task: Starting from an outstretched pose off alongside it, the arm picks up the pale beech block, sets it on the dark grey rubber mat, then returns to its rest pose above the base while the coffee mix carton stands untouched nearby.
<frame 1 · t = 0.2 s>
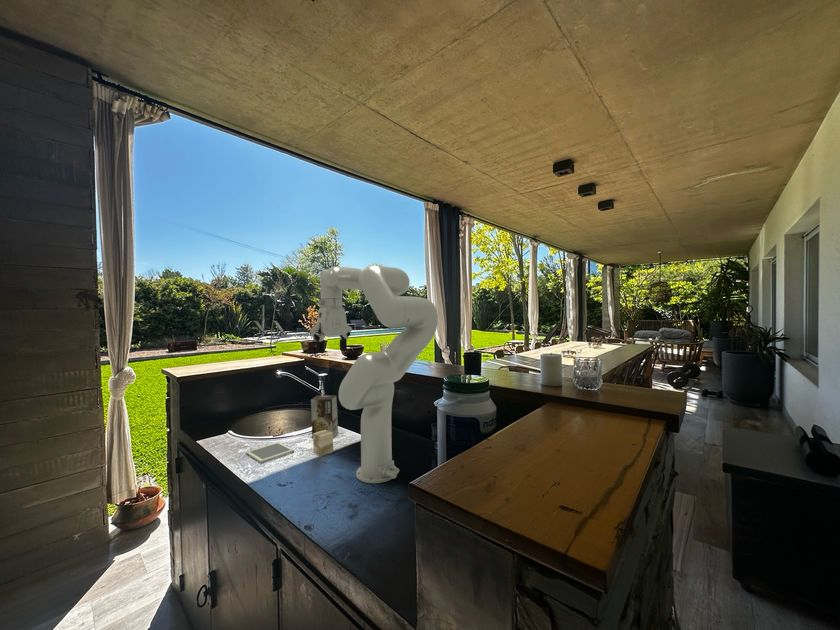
hand: (332, 351, 123), 37 cm above the countertop, tool pointing down, fingers open, 9 cm apart
mat: (270, 453, 124), on the countertop
block: (323, 452, 125), on the countertop
coffee box: (325, 436, 141), on the countertop
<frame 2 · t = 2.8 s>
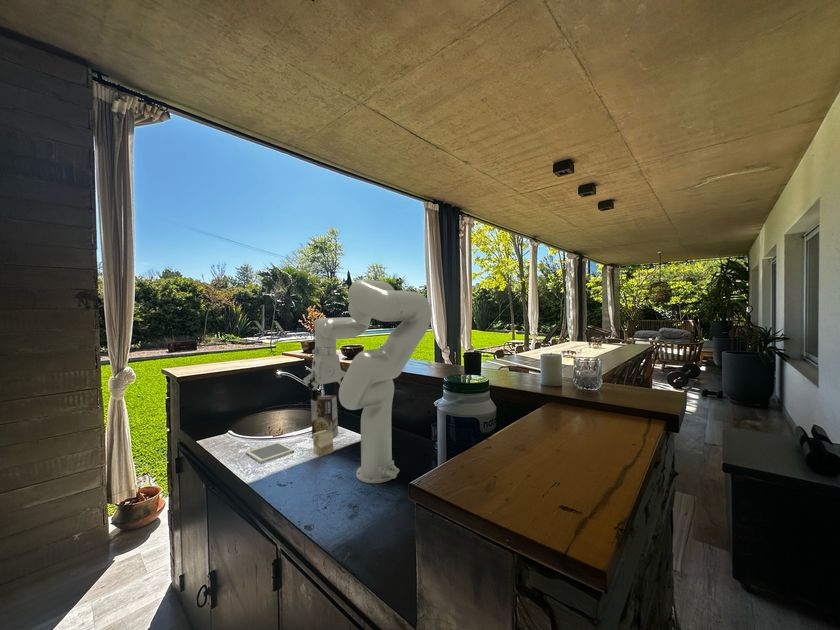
hand: (326, 397, 126), 19 cm above the countertop, tool pointing down, fingers open, 9 cm apart
nothing on the countertop moved.
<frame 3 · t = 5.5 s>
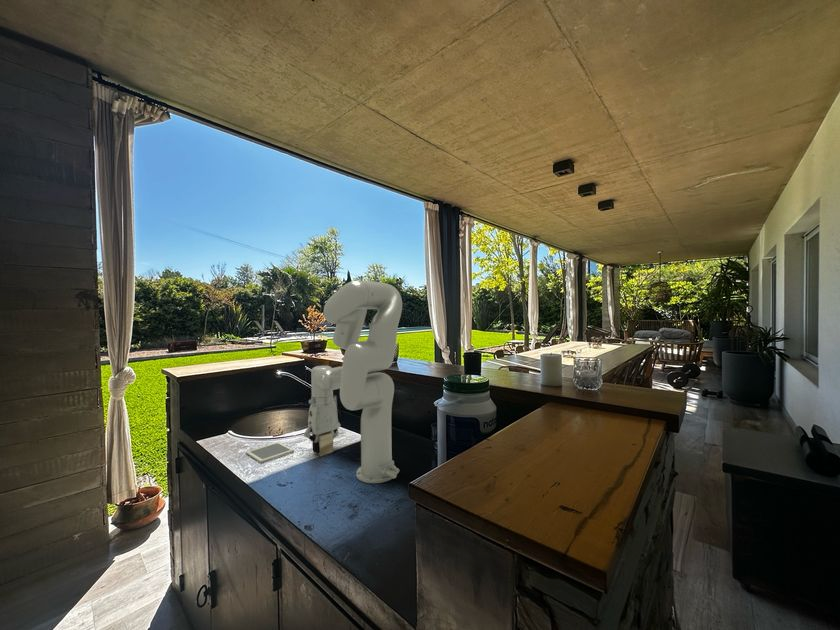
hand: (323, 449, 125), 1 cm above the countertop, tool pointing down, fingers closed on block, 5 cm apart
block: (323, 452, 125), on the countertop, touching gripper
everything else where it was.
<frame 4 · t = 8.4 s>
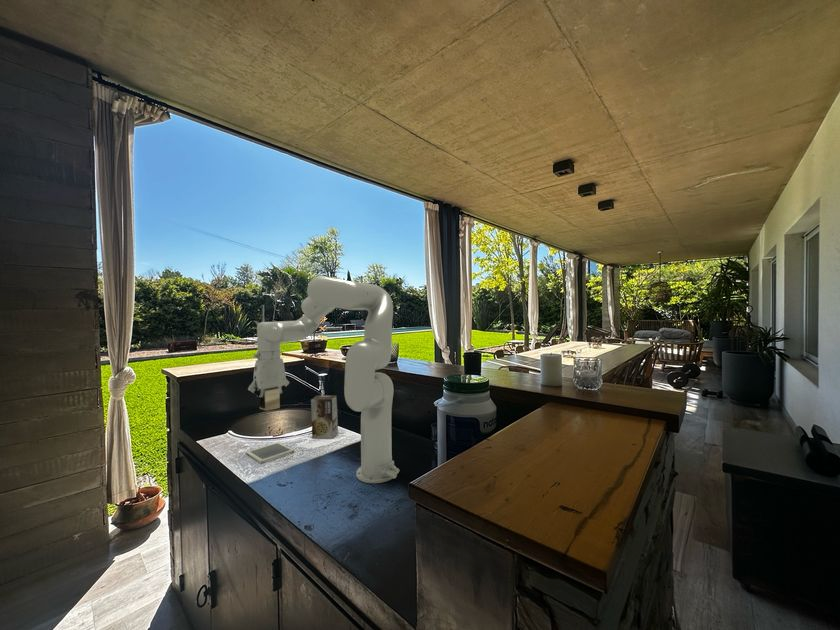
hand: (269, 405, 124), 17 cm above the countertop, tool pointing down, fingers closed on block, 5 cm apart
block: (269, 408, 124), point 16 cm above the countertop, touching gripper
everything else where it was.
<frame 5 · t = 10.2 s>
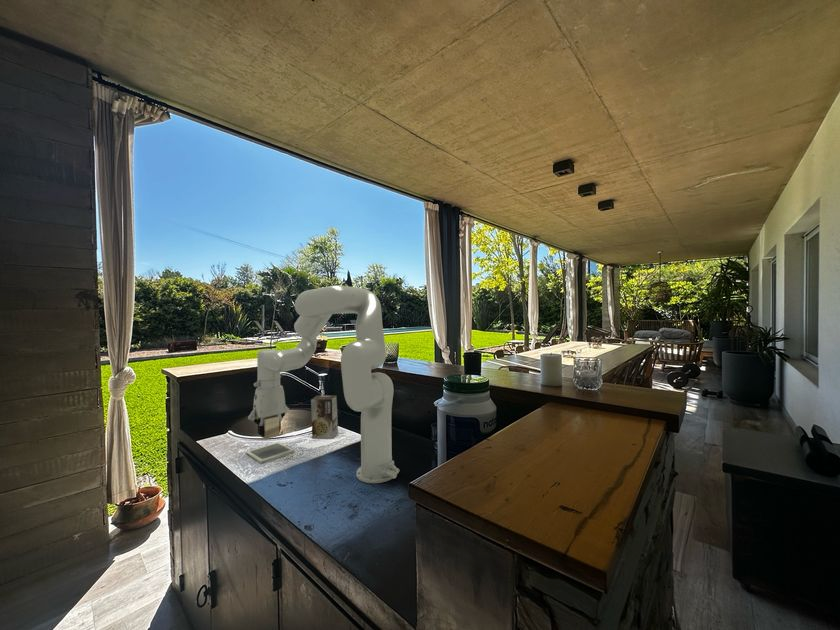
hand: (269, 433, 124), 7 cm above the countertop, tool pointing down, fingers closed on block, 5 cm apart
block: (269, 435, 124), point 6 cm above the countertop, touching gripper
everything else where it was.
when the fingers open (3 cm above the countertop, at t = 11.5 s): block drops 2 cm, resting on mat.
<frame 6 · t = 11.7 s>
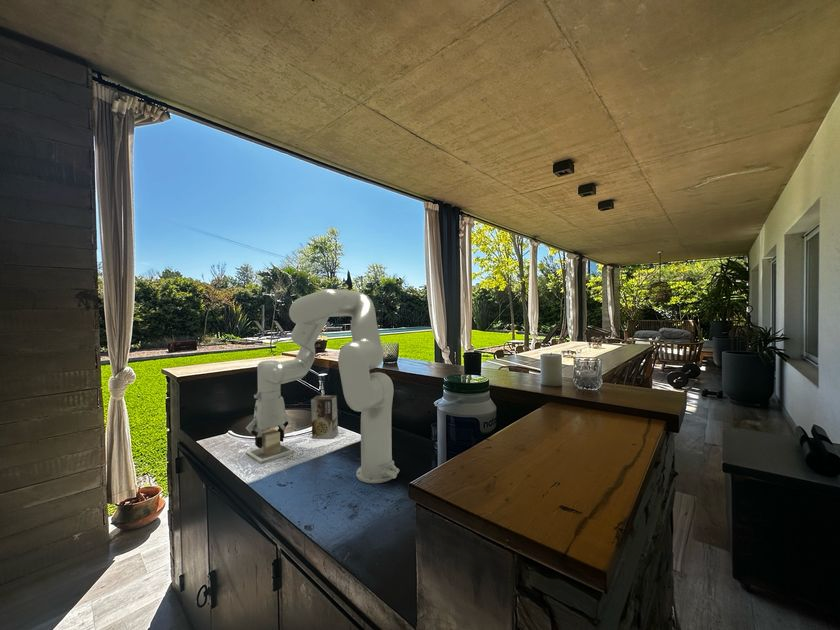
hand: (270, 443, 124), 4 cm above the countertop, tool pointing down, fingers open, 7 cm apart
block: (270, 451, 124), point 1 cm above the countertop, touching mat
everything else where it was.
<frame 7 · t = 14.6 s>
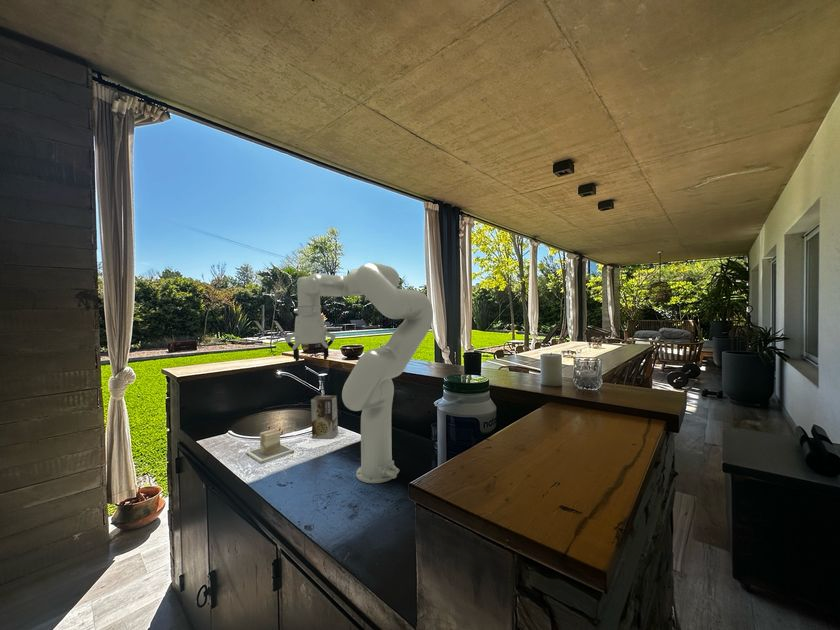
hand: (311, 360, 121), 34 cm above the countertop, tool pointing down, fingers open, 9 cm apart
nothing on the countertop moved.
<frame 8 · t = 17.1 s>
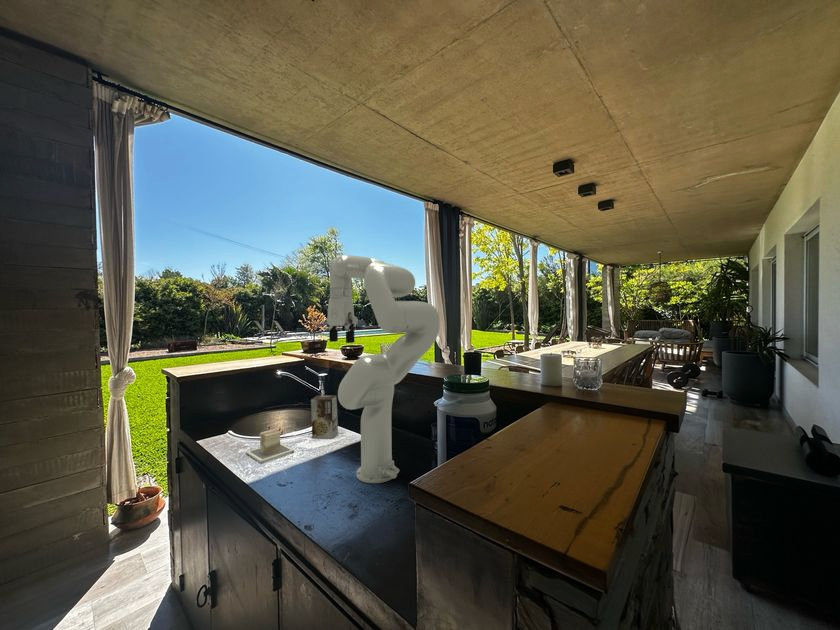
hand: (341, 342, 121), 40 cm above the countertop, tool pointing down, fingers open, 9 cm apart
nothing on the countertop moved.
at the end: block inside the target area on the mat (0.0 cm from its centre), point 0.6 cm above the mat's base; block tilted 0°; the gripper is holding nothing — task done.
